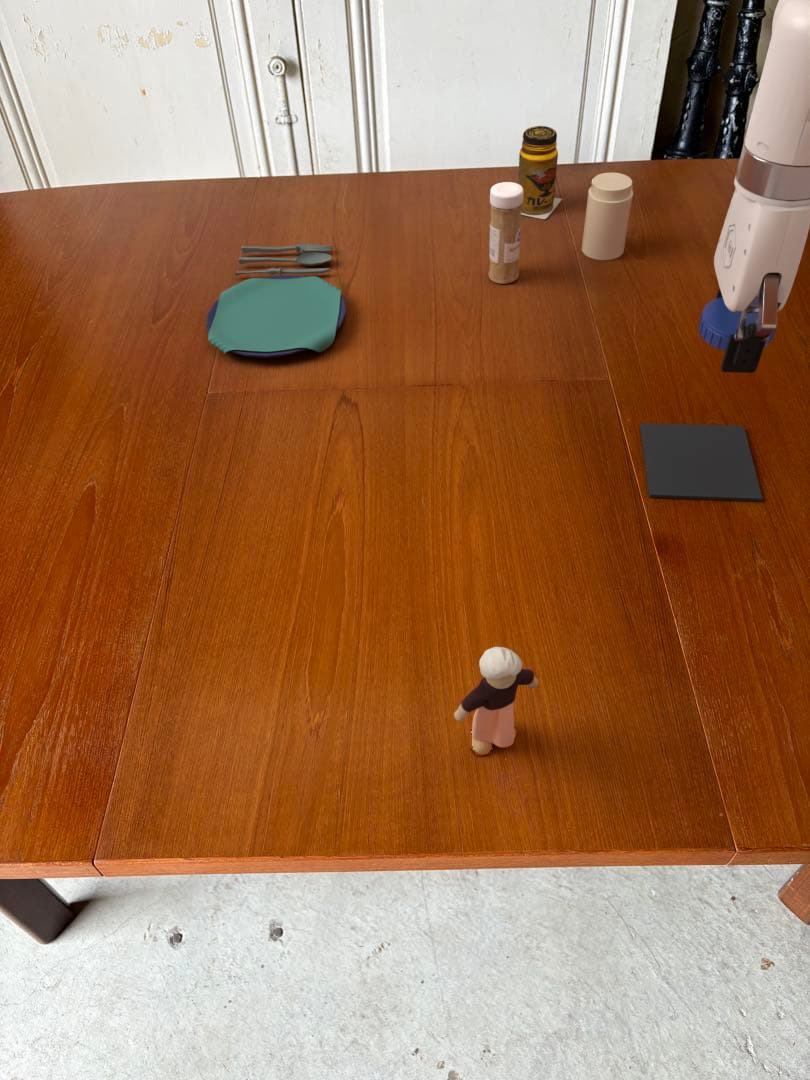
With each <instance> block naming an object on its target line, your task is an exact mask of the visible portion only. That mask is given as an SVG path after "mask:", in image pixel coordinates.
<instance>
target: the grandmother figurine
mask: <svg viewBox="0 0 810 1080" xmlns="http://www.w3.org/2000/svg"><path fill="white" fill-rule="evenodd" d="M478 662H479V663H478V665H479V671H480V674H481V676H482V679H480V681H479V684H478V685H477V686H475V688H473V689H472V690H471V691H470V692H469V693H468V694H467V696H465V697H464V698H463V699H462V700H461V703H460V704H459V706H458V707H457V709H456V710H455V711H454V713H453V717H454V719H455V721H457V722H464V721H465V720H466V719H467V717H468V716H469V715H470V713H471V712H473V711H475V712H474V714H473V718H472V724H471V729H472V731H471V733H472V746H473V750H475V751H476V752H478V753H485V752H486V751H487V752H488V751H489V750H490V748H491V744H492V745H495V746H496V747H498V748H503V749H504V748H508V747H511V746H512V745H513V744H514V743H515V740H514V734H515V730H514V727H515V718H514V716H515V715H514V713H515V711H514V708H515V707H514V706H515V702H516V697H517V691H518V687H519V686H526V687H528V688H529V689H533V690H534V689H536V688H537V687H538V686H539V679H538V678H537V677H536V676H535V672H534V671H533V670H532V669H530V668H523V662H522V659H521V658H520V656H519V655H518V654H517V653H516V652H514V651H513V650H511V649H510V648H507V647H505V646H504V647H502V646H493V647H490V648H488V649H486V650H485V651H484V653H483V654H482V655H481V657H480V659H479V661H478Z"/></svg>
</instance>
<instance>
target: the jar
mask: <svg viewBox="0 0 810 1080" xmlns="http://www.w3.org/2000/svg"><path fill="white" fill-rule="evenodd" d="M633 198H634V190H633V180H632V178H631V177H629V176H628V175H626V174H625V173H624V174H623V173H620V172H603V173H600V174H597V175H595V176H594V177H593V178H592V180H591V186H590V187H589V189H588V190H587V198H586V199H587V200H586V206H585V207H586V208H585V214H584V215H585V216H584V222H583V223H584V224H583V234H582V242H581V252H582V253H583V255H584V256H586V257H587V258H590V259H592V260H597V261H612V260H615V259H618V258H620V257H621V256H623V254H624V252H625V248H626V241H627V234H628V228H629V222H630V218H631V217H630V216H631V211H632V204H633Z"/></svg>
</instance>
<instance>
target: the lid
mask: <svg viewBox="0 0 810 1080" xmlns="http://www.w3.org/2000/svg"><path fill="white" fill-rule="evenodd" d="M749 305H759V299H753V301H752V302H751V303H750V304H749ZM758 314H759V313H747V319H746V326H747V325H749V324H750V323H755V321H756V320H757V318H758ZM737 316H738V311H736V312H731V311H730V310H729V309H728V308H727V307H726V305H725V303H724V300H723V297H721V298H718V299H716V298H715V299H713V300H711V301H710V302H708V303H707V304H706V305H705V306H704V308H703V310H702V312H701V315H700V320H699V324H698V330H699V331H698V332H699V333H698V334H699V335H700V337H701V338H702V339H703V340H704V341H705V342H706V343H707V344H708V345H710V346H712V347H714V348H716V349H718V350H721V351H724V352H725V351H726V348H727V345H728V341H729V338H730V335H731V334H735V330H736V323H737ZM778 322H779V321H778V317H777V323H778ZM746 326H745V327H746ZM776 331H777V328H776V329H775V331H773V332H772V333H771V334H770V335H769V338H768V340H767V342H766V343H765V346H764V348H763V350H764V349H765V348H766V347H768V346H769V345H770V344H771V342H772V341H773V340H774V338H775V335H776Z"/></svg>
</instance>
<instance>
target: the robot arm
mask: <svg viewBox="0 0 810 1080" xmlns="http://www.w3.org/2000/svg"><path fill="white" fill-rule="evenodd" d="M755 95H756V96H755V99H754V102H753V105H752V109H751V114H750V119H749V122H748V126H747V130H746V133H745V137H744V142H743V146H742V149H741V153H740V157H739V161H738V165H737V168H736V173H735V176H734V180H733V185H734V189H735V190H734V192H733V195H732V197H731V200H730V204H729V207H728V210H727V213H726V216H725V219H724V222H723V226H722V229H721V232H720V236H719V239H718V241H717V244H716V249H715V253H714V256H713V266H714V271H715V275H716V280H717V282H718V286H719V289H718V290H717V292H716V296H715V299H718V298H721V297H723V300H724V303H725V305H726V307H727V308H728V309H729V310H730V311H731V312H736V311H738V316H737V323H736V330H735V334H731V335H730V338H729V341H728V345H727V348H726V351H724V355H723V359H722V362H721V364H720V369H721V371H722V372H723V373H731V374H733V373H736V374H737V373H738V374H739V373H741V374H754V373H755V372H757V369H758V367H759V363H760V360H761V357H762V355H763V351H764V349H765V348H764V346H765V343H766V342H767V340H768V338H769V335H770V334H771V333H772V332H773V331H775V329H776V330H777V325H778V322H777V318H778V313H779V312H781V310H782V309H784V307H785V305H786V303H787V301H788V298H789V296H790V293H791V291H792V288H793V286H794V283H795V279H796V276H797V273H798V271H799V266H800V264H801V259H802V257H803V253H804V249H805V246H806V243H807V239H808V234H809V230H810V0H778V1H777V4H776V7H775V10H774V12H773V18H772V25H771V37H770V40H769V46H768V49H767V53H766V57H765V60H764V64H763V68H762V72H761V75H760V79H759V83H758V88H757V91H756V94H755ZM753 299H755V300H758V301H759V305H749V304H750V303H751V302H752V301H753ZM747 313H759V314H758V318H757V320H756V321H755V323H750V324H749V325H747V326H746V319H747ZM745 326H746V327H745ZM775 332H776V331H775ZM763 348H764V349H763Z"/></svg>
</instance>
